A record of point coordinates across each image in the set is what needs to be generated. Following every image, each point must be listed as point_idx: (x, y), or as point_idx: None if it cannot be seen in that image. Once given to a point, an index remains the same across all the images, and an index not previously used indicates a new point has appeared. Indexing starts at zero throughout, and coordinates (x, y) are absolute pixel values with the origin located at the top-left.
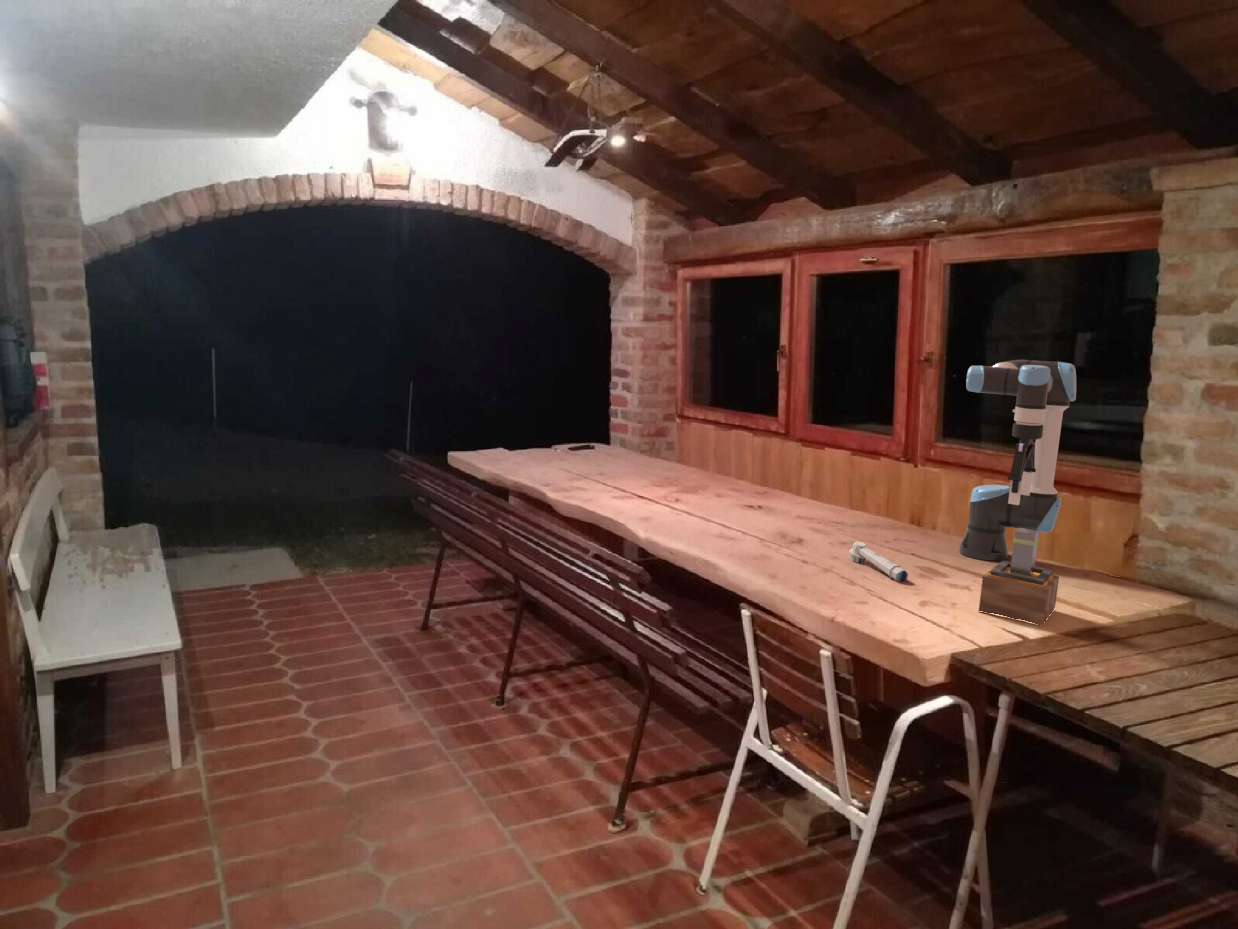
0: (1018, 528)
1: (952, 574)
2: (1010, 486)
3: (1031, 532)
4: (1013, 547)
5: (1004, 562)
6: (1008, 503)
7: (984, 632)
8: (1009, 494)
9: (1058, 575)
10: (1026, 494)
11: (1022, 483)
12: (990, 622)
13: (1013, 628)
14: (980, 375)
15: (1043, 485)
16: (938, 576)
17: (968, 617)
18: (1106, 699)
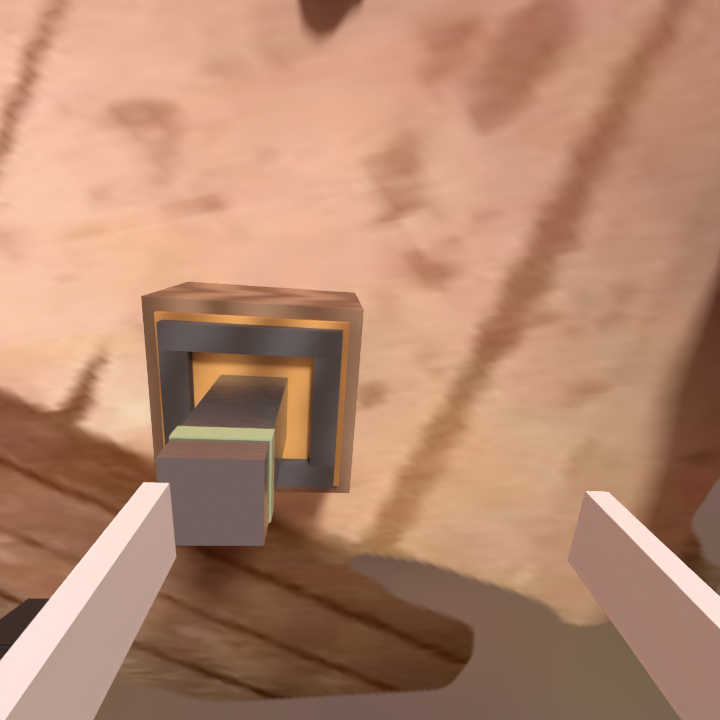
0: (235, 460)
1: (524, 134)
2: (18, 639)
3: (192, 525)
4: (188, 418)
5: (318, 343)
6: (141, 486)
7: (28, 327)
8: (92, 548)
9: (346, 491)
10: (575, 549)
11: (657, 591)
12: (124, 325)
13: (123, 381)
14: None
15: None
16: (474, 94)
17: (118, 266)
18: None
